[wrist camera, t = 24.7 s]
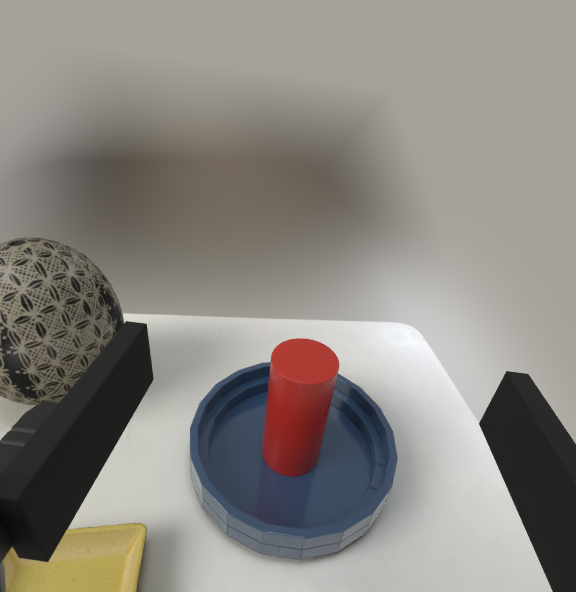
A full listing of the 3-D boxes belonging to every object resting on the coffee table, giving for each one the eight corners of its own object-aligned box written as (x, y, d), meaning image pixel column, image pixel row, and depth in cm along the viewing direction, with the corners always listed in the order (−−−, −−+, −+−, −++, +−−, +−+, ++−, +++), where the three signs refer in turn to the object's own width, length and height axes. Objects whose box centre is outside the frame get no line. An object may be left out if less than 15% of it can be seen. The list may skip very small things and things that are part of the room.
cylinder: (319, 431, 33) (338, 342, 28) (318, 481, 29) (340, 388, 24) (266, 423, 33) (275, 334, 28) (257, 472, 29) (266, 378, 24)
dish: (374, 399, 38) (382, 373, 37) (401, 582, 24) (416, 555, 23) (219, 377, 39) (219, 351, 37) (159, 544, 25) (155, 516, 23)
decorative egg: (117, 433, 32) (86, 280, 24) (-40, 443, 30) (-129, 278, 22) (141, 346, 42) (124, 217, 34) (24, 349, 39) (-22, 211, 32)
